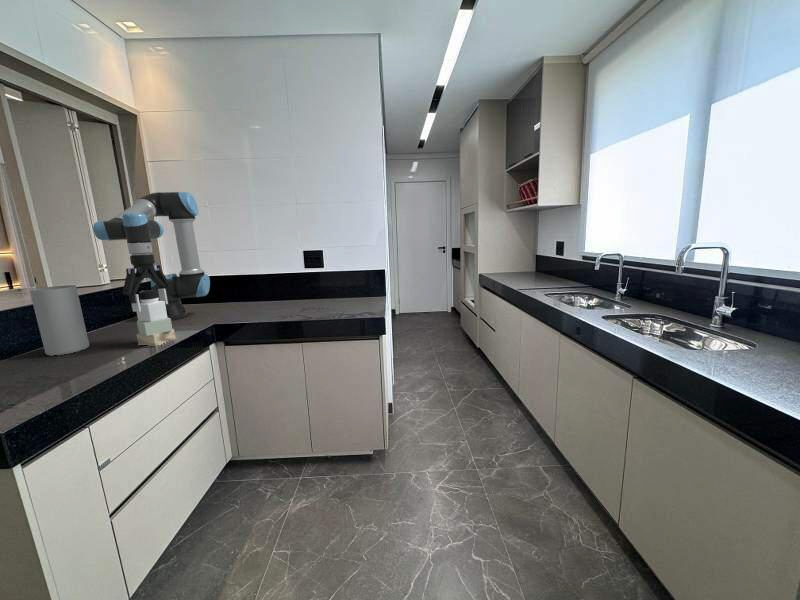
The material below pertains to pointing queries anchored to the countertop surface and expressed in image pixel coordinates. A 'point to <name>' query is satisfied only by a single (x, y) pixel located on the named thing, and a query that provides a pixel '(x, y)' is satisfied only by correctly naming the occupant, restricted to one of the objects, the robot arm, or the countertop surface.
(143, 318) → the medicine bottle
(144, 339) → the lower block
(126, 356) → the countertop surface
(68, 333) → the cylinder vase
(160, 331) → the upper block
